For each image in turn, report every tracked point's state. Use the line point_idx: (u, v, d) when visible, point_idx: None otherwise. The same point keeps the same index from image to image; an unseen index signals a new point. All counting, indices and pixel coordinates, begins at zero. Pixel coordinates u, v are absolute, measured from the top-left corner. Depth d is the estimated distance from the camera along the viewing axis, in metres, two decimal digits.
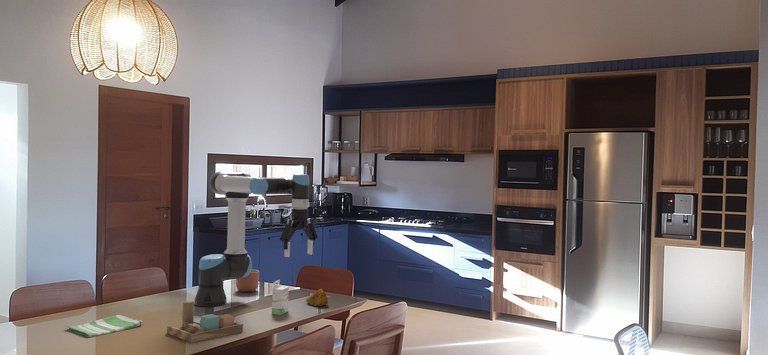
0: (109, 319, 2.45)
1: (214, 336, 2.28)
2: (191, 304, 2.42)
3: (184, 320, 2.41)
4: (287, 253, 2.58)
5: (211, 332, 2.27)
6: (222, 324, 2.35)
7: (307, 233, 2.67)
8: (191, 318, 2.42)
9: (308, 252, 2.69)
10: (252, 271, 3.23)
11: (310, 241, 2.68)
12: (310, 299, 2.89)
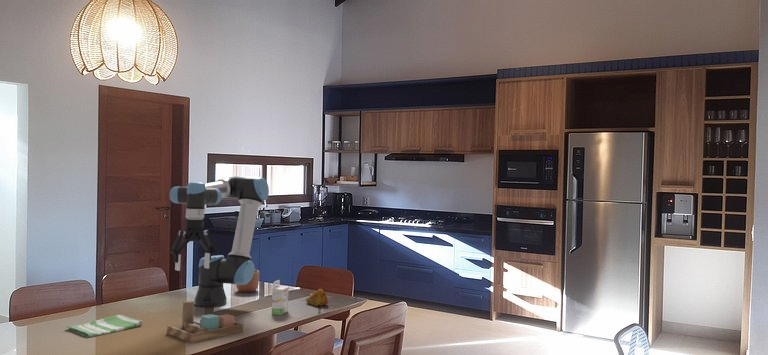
0: (109, 319, 2.45)
1: (214, 336, 2.28)
2: (191, 304, 2.42)
3: (184, 320, 2.41)
4: (177, 266, 2.41)
5: (211, 332, 2.27)
6: (222, 324, 2.35)
7: (203, 245, 2.51)
8: (191, 318, 2.42)
9: (205, 266, 2.52)
10: None
11: (207, 254, 2.52)
12: (310, 299, 2.90)
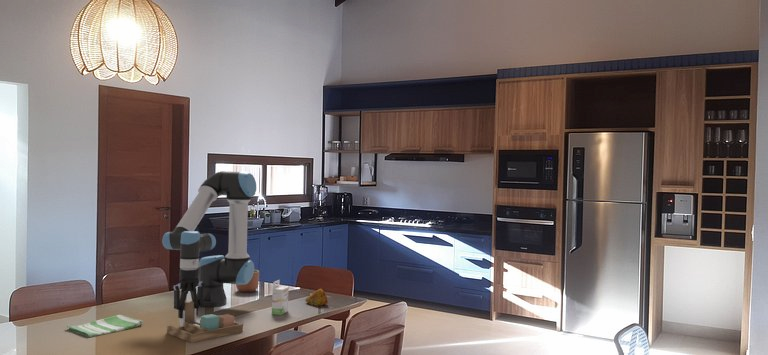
0: (109, 319, 2.45)
1: (214, 336, 2.28)
2: (191, 304, 2.42)
3: None
4: (182, 322, 2.41)
5: (211, 332, 2.27)
6: (222, 324, 2.35)
7: (193, 298, 2.45)
8: (191, 318, 2.42)
9: None
10: None
11: None
12: (310, 299, 2.90)
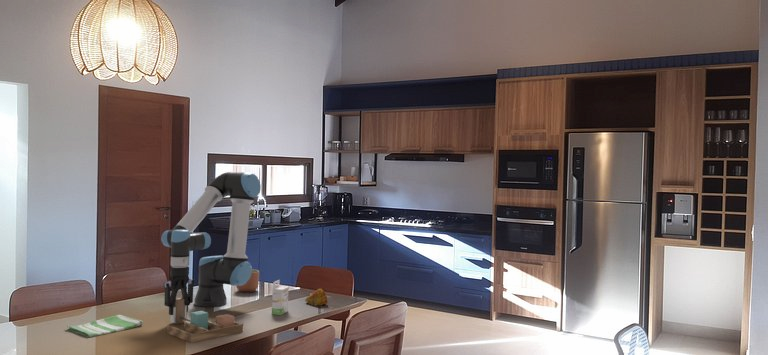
0: (110, 319, 2.45)
1: (214, 336, 2.28)
2: (181, 301, 2.47)
3: None
4: (173, 319, 2.46)
5: (211, 332, 2.27)
6: (222, 324, 2.35)
7: (183, 295, 2.50)
8: (181, 315, 2.47)
9: None
10: (252, 271, 3.23)
11: (184, 306, 2.50)
12: (310, 299, 2.90)
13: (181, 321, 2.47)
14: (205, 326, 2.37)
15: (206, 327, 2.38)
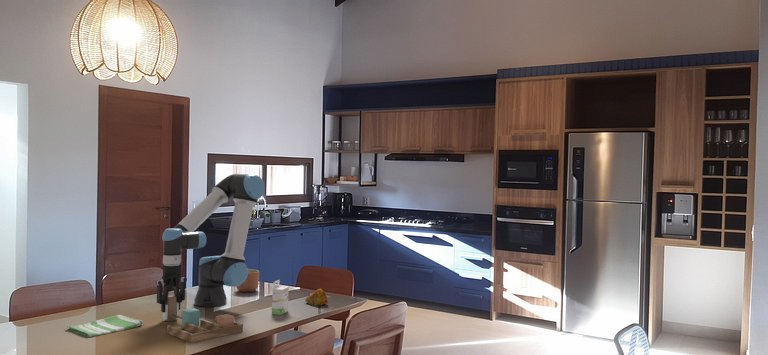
0: (110, 319, 2.45)
1: (214, 336, 2.28)
2: (173, 299, 2.51)
3: None
4: (165, 316, 2.50)
5: (211, 332, 2.27)
6: (222, 324, 2.35)
7: (175, 293, 2.54)
8: (173, 312, 2.51)
9: None
10: (252, 271, 3.23)
11: (176, 304, 2.54)
12: (310, 299, 2.90)
13: (173, 318, 2.51)
14: (196, 323, 2.41)
15: (197, 324, 2.42)
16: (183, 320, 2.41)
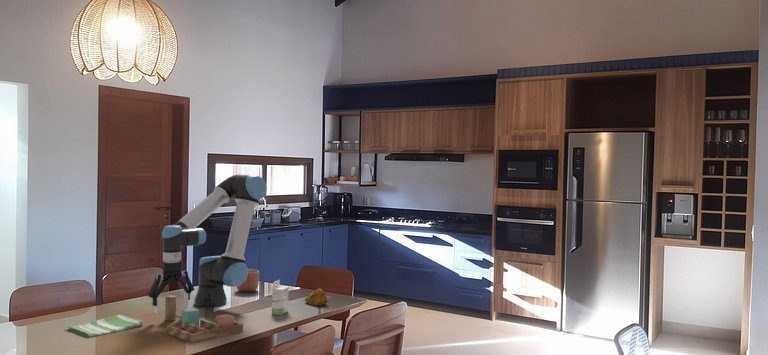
0: (110, 319, 2.45)
1: (214, 336, 2.28)
2: (173, 299, 2.51)
3: (166, 314, 2.51)
4: (156, 309, 2.47)
5: (211, 332, 2.27)
6: (222, 324, 2.35)
7: (182, 286, 2.56)
8: (173, 312, 2.51)
9: (184, 305, 2.58)
10: (252, 271, 3.23)
11: (185, 294, 2.57)
12: (309, 298, 2.90)
13: (173, 318, 2.51)
14: (196, 323, 2.42)
15: (197, 324, 2.42)
16: (183, 320, 2.41)
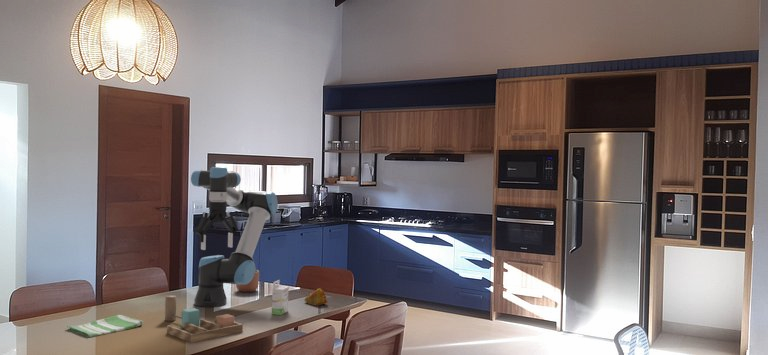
0: (110, 319, 2.45)
1: (214, 336, 2.28)
2: (173, 299, 2.51)
3: (166, 314, 2.51)
4: (203, 246, 2.58)
5: (211, 332, 2.27)
6: (222, 324, 2.35)
7: (227, 226, 2.67)
8: (173, 312, 2.51)
9: (228, 245, 2.69)
10: None
11: (230, 234, 2.68)
12: (309, 298, 2.91)
13: (173, 318, 2.51)
14: (196, 323, 2.42)
15: (197, 324, 2.42)
16: (183, 320, 2.41)
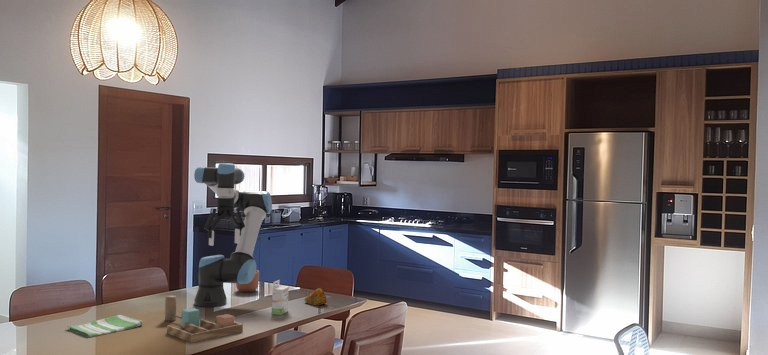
0: (110, 319, 2.45)
1: (214, 336, 2.28)
2: (173, 299, 2.51)
3: (166, 314, 2.51)
4: (211, 242, 2.59)
5: (211, 332, 2.27)
6: (222, 324, 2.35)
7: (234, 222, 2.69)
8: (173, 312, 2.51)
9: (235, 241, 2.70)
10: None
11: (237, 230, 2.70)
12: (309, 298, 2.91)
13: (173, 318, 2.51)
14: (196, 323, 2.42)
15: (197, 324, 2.42)
16: (183, 320, 2.41)
